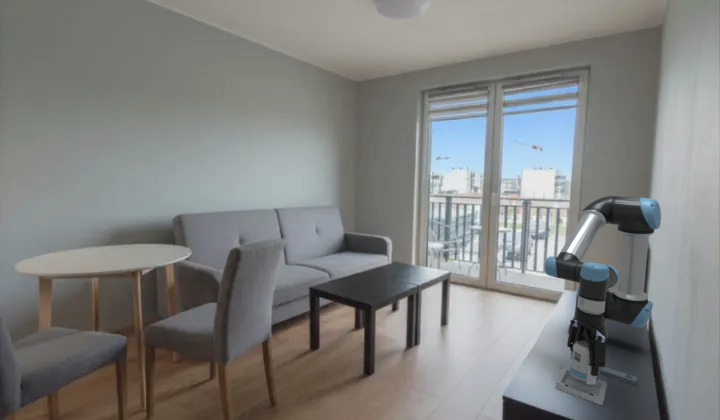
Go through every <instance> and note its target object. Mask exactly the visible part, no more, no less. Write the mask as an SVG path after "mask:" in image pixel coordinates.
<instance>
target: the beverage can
mask: <svg viewBox="0 0 720 420" xmlns="http://www.w3.org/2000/svg"><path fill="white" fill-rule="evenodd" d="M588 364H591V363H590V356H589V348H588V343H587V342H586V341H576V343H575V344H574V346H573V353H572V362H571V361H570V366H571V371H570V373H571V375H572V376H574V378H575V379H577V380H578V381H581V382H585V383H586V379H587V371H588Z"/></svg>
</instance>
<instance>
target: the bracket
mask: <svg viewBox="0 0 720 420" xmlns="http://www.w3.org/2000/svg"><path fill="white" fill-rule="evenodd" d="M599 371H600V372H599V374H600V375H601V376H606V377H608V378H611V379H614V380H617V381H619V382H620V381H621V382H623V383H626V384H629V385H632V386H637V380H638V377H637V376H634V375H631V374H629V376H628V374H627V373H625V372H621V371H619V370H616V369H612V368H609V367H606V366H605V367H600V370H599Z"/></svg>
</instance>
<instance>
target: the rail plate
mask: <svg viewBox="0 0 720 420" xmlns="http://www.w3.org/2000/svg"><path fill="white" fill-rule="evenodd" d="M554 388H555V389H557V390H559V391H562V392H563V393H564V392H565V393H567V394H569V395H573V396H574V397H575V396H576V397H578V398H581V399H584V400H586V401H589V402H592V403H594V404H597V405H599V406H603V404H604V400H605V396H606V392H607V389H608V382H607V381H605V380H602V379H598V378H596V384H587V383H585V382H581V381H578V380H577V379H575V378H574V376H572V375H571V373H570V368H567V367H563V368H562V370H561V371H560V373H559V375H558V377H557V380H556V381H555V386H554Z"/></svg>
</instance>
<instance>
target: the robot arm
mask: <svg viewBox="0 0 720 420" xmlns="http://www.w3.org/2000/svg"><path fill="white" fill-rule="evenodd" d="M578 219H579V220H578V222H577V224H576V226H575V227H574V229H573V230H572V232H571V234H570V236H569V238H567V240H566V242H565V244H564V246H562V249H561V250H560V252H559V253H558V255H557V256H554V255H553V256H552V255H550V256H548V257H547V258H546V260H545V263H544V272H545V274H546V275H548V276H549V277H554V278H556V279H561V280H566V281H570V282H575V283H579V285H578V288H577V292H576V297H575V310H574V315H573V317H572V319H571V320H570V324H569V325H568V329H567V332H568V339H567V342H566V343H567V344H566V346H567V348H569V350H570V351H571V353H570V363H571V362H572V353H573V346H574V344H575V343H576V341H586V342H587V343H588V348H589V356H590V363H591V364H588V371H587V379H586V383H587V384H596V379H597V377H598V376H599V368H601V367H606V351H607V350H606V349H607V348H606V346H607V342H608V341H609V333H608V330H607V326H606V320H610V321H614V322H617V323H620V324H624V325H627V326H629V327H635V328H639V329H641V328H645V326H646V325H647V324H648V321H649V319H650V316H651V314H652V310H653V306H654V305H653V302H652V301H651V300H649V296H648V294H647V293H646V292H644V291H645V281H646V269H647V259H648V248H649V247H648V246H649V237H650V236H651V235H653V234H654V233H655V230H658V229H659V228H660V227H661V221H662V212H661V205H660V203H659V202H658V200H656V199H654V198H648V197H639V196H620V195H619V196H618V195H617V196H616V195H609V196H603V197H601V198H598V199H596V200H594V201H592V202H590V203H589V204H587V205H586V206H585V207H584V208H583V209H582V211H581V212H580V214H579V217H578ZM607 224H609V225H616V226H617V231H618V232H619V233H620V234H621V241H620V242H621V243H620V256H619V268H618V270H617V269H616V267H613V266H612V265H609V264H602V263H598V262H591V261H589V262H587V261H586V262H583V258H584V256H585V255H586V253H587V252H588V250H589V248H590V246H591V244H592V243H593V241H594V239H595V238H596V235H597V234H598V232H599V230H600V229H602V228H603V227H605V226H606V225H607ZM616 285H617V288H614V289H613V292H611V291H610V288H613V287H615V286H616ZM569 367H570V368H569V370H570V371H571V365H570V366H569Z"/></svg>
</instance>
